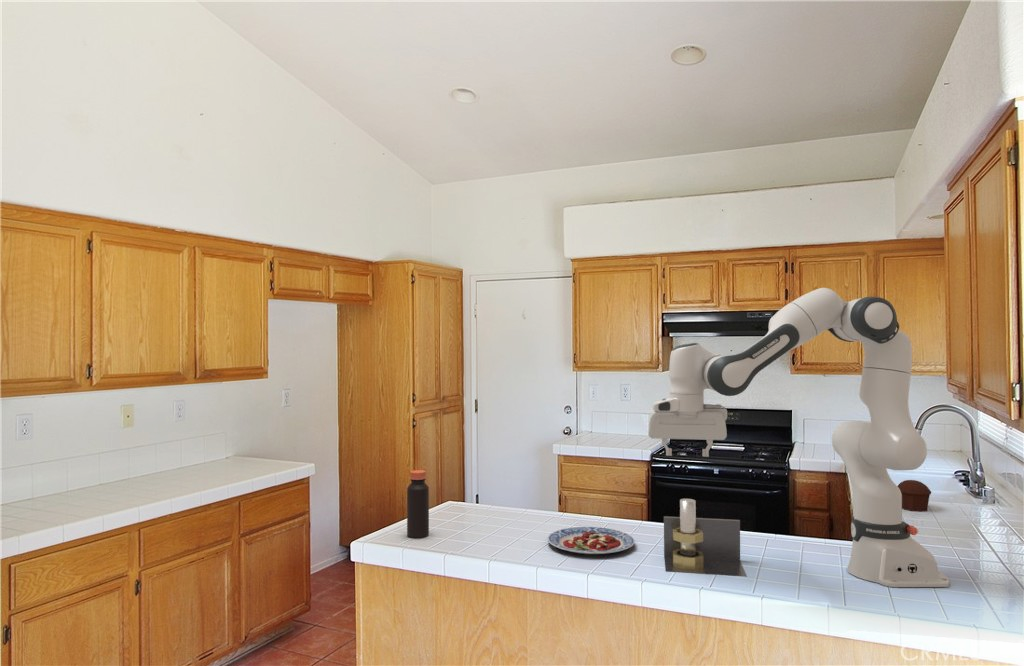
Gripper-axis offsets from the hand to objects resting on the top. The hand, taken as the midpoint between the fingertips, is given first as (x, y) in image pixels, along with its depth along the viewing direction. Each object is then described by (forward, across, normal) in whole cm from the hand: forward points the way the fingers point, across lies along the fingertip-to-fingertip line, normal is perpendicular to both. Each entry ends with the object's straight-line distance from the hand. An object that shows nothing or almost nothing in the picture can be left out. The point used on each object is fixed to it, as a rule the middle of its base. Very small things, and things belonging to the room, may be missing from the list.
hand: (687, 456), depth 176 cm
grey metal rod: (+29, 0, 0) cm, 29 cm away
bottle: (+30, +81, -16) cm, 88 cm away
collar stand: (+30, -4, 0) cm, 30 cm away
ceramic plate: (+30, +27, -16) cm, 44 cm away
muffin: (+31, -84, -81) cm, 121 cm away
